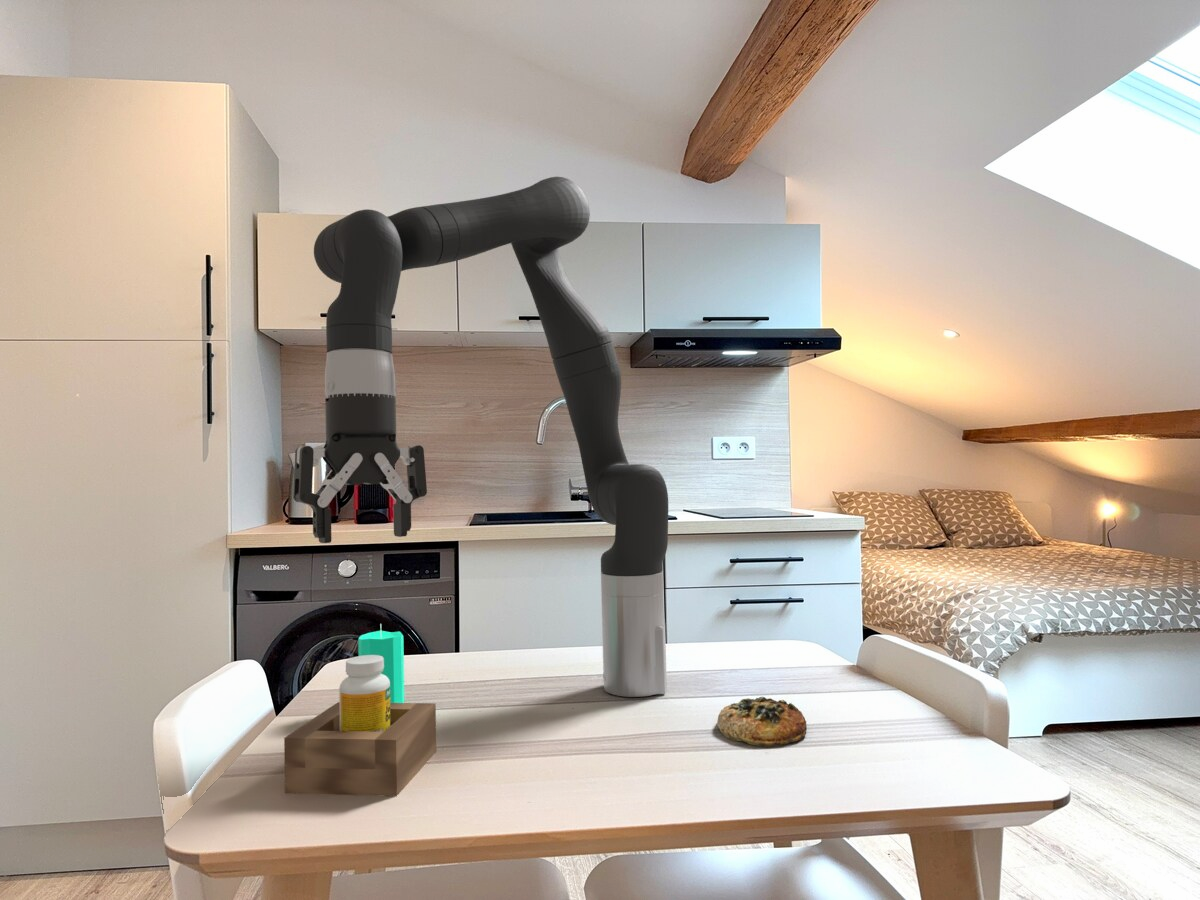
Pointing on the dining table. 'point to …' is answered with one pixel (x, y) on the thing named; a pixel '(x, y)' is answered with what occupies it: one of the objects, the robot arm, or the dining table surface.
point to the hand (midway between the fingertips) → (363, 539)
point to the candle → (387, 658)
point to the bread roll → (762, 722)
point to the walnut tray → (360, 753)
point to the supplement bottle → (365, 695)
